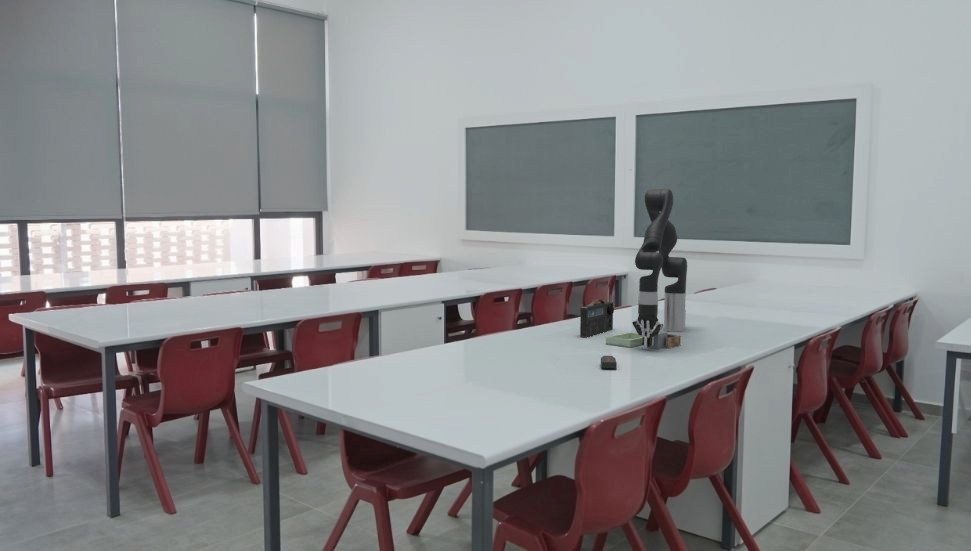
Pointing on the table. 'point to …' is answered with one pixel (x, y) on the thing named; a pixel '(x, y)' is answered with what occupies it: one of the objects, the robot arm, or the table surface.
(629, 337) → the tray
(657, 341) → the grey block with stick
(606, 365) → the usb drive
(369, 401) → the table surface
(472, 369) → the table surface
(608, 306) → the radio
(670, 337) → the u-shaped wooden frame
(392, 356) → the table surface
